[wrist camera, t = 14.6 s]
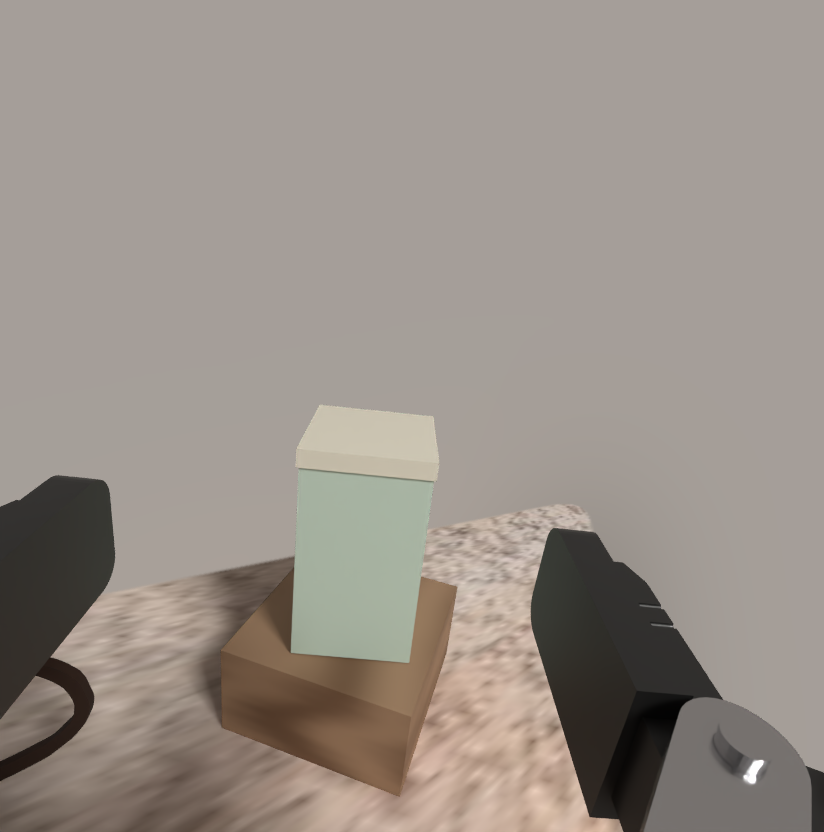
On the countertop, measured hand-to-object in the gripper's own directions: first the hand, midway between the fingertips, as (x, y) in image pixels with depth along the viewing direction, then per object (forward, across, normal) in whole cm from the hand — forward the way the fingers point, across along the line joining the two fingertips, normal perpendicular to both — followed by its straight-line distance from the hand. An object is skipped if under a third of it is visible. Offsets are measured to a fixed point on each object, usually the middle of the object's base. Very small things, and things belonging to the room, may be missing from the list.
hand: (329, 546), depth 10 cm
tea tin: (+13, 0, +13) cm, 19 cm away
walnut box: (+13, 0, +18) cm, 22 cm away
